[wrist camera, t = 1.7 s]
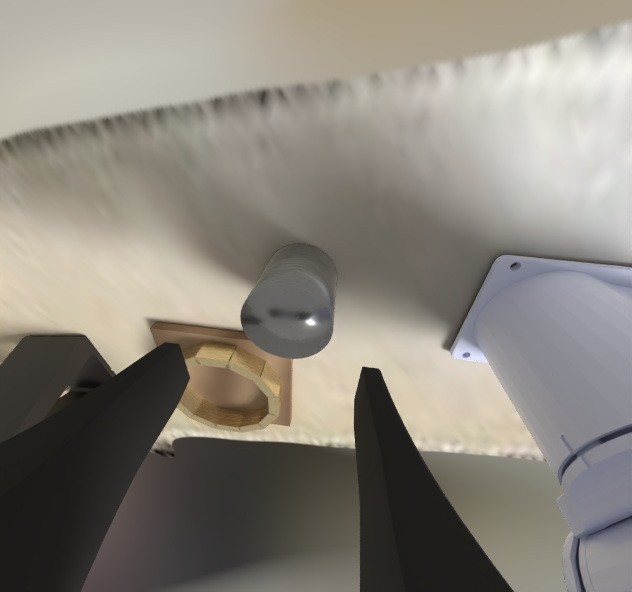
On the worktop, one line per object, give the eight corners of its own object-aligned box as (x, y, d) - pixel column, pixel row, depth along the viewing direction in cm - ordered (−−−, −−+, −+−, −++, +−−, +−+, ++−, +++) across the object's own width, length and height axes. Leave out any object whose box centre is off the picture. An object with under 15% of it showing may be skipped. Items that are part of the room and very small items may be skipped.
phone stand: (134, 398, 27) (10, 556, 17) (85, 396, 28) (-61, 545, 18) (85, 334, 22) (-128, 502, 12) (28, 334, 23) (-216, 491, 13)
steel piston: (340, 247, 15) (337, 291, 11) (333, 308, 18) (328, 363, 14) (265, 239, 16) (235, 280, 11) (268, 301, 18) (245, 352, 14)
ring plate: (292, 338, 20) (286, 361, 18) (291, 418, 26) (286, 442, 24) (156, 321, 20) (135, 342, 18) (186, 404, 26) (173, 426, 24)
